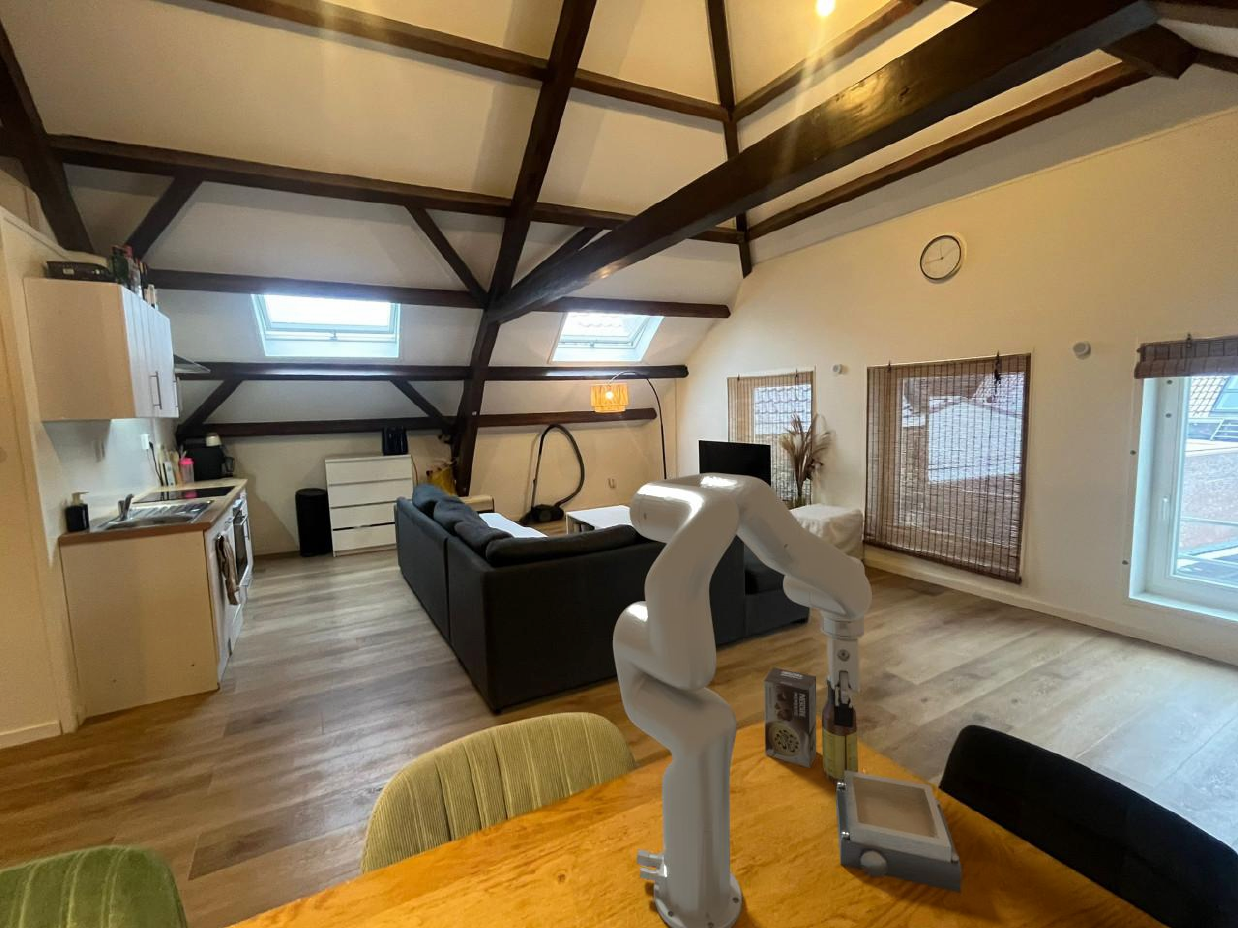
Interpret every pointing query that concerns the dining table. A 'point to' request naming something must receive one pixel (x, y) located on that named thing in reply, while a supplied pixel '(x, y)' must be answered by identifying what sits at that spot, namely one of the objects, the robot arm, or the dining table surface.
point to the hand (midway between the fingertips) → (841, 710)
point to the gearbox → (895, 831)
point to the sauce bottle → (838, 742)
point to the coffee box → (790, 716)
